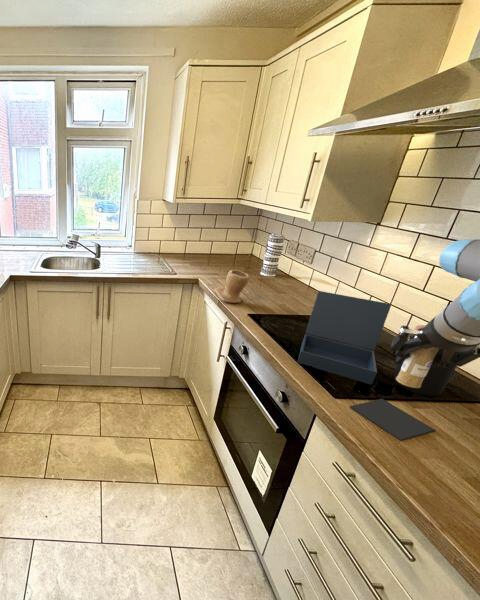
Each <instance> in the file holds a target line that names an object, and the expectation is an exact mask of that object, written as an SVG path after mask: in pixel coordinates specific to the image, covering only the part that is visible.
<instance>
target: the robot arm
mask: <svg viewBox="0 0 480 600" xmlns="http://www.w3.org/2000/svg"><path fill="white" fill-rule="evenodd" d="M438 261H439V266H440V268H441V269H442V270H443V271H444V272H446V273H449V274H451V275H454V276H457V277H458V278H461V279H466V280H469V281H472V283H470V284H469V285H468V287H466V288H464V289H463V291H462V292H461V293H460V294H459V295H458V296H456V298H455V299H454V300H453V301H451V303H450V304H448V305H447V306H446V307H445V308H443V309H442V310H441V311H440V312H438V314H435V315H436V316H434V317H433V318H432V319H430V321H428V323H426V324H425V325H426V326H425V327H423V328H419V329H418V330H414V329H413V328H410V327H409V326H408V325H401V326H400V329H399V332H398V334H397V335H396V336H395V337H393V339H392V341H391V345H390V351H392V352H395V353H394V356H396V357H395V361H394V362H395V363H394V364H395V365H396V364H397V365H398V364H400V363H402V362H403V361H404V360H405V359H407V358H408V357H409V356H410V353H411V352H414V351H417V350H420V349H429V348H432V347H434V348H435V347H437V348H441V349H444V350H443V352H442V355H441V353H438V352H437V354H436V356H435V358H434V360H433V363H432V365H431V367H430V369H429V370H431V369H432V368H434V367H435V366H439V367H445V368H447V367H448V364H449V363H452V364H453V365H454V366H457V367H458V368H460V367H463V366H466V365H467V364H470V363H472V362H473V361H475V360H477V359H480V239H478V238H477V239H474V238H473V239H472V238H462V239H458V240H455V241H453V242H451V243H449V244H447V246H445V248H444V249H443V250H442V251H441V253H440V255H439V260H438ZM413 336H417V338H414V339H412V340H409V339H411V337H413ZM455 352H459V353H457V354H456V355H455V356H453V355H454V353H455Z"/></svg>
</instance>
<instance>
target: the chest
mask: <svg viewBox="0 0 480 600" xmlns="http://www.w3.org/2000/svg"><path fill="white" fill-rule="evenodd" d="M297 364H301V365H303V364H305V365H304V366H307V365H308V366H307V367H310V366H312V367H311V368H313V367H314V368H313V369H317V370H320V371H323V372H327V373H330V374H334V375H337V376H340V377H344V378H347V379H351V380H353V381H358V382H360V383H364V384H367V385H372V386H373V383H374V381H375V378H376V375H377V374H378V368H377V363H376V356H375V350H371V349H367V348H363V347H359V346H355V345H351V344H347V343H343V342H339V341H335V340H331V339H327V338H323V337H319V336H315V335H311V334H307V333H305V334H304V337H303V339H302V343H301V346H300V350H299V354H298V358H297Z"/></svg>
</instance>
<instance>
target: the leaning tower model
mask: <svg viewBox="0 0 480 600" xmlns="http://www.w3.org/2000/svg"><path fill="white" fill-rule="evenodd" d="M268 236H269V238H268V241H267V243H266V244H265V245H266V247H265V251H264V252H265V253H264V260H263V262H262V265H261V266H262V267H261V269H260V275H262V276H265V277H276V274H277V272H278V268H279V267H278V266H279V260H280V258H281V256H282V251H283V250H284V249H283V248H284V239H285V238H286V236H285V237H284V235H283V234H281V233H272V234H270V235H268Z"/></svg>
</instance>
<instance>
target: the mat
mask: <svg viewBox="0 0 480 600" xmlns="http://www.w3.org/2000/svg"><path fill="white" fill-rule="evenodd" d="M349 408H350V409H351V410H353V411H354V412H356V413H357V414H358V415H360V416H361V417H363V418H365V419H367V420H368V421H369V422H371V423H372V424H374V425H376V426H377V427H379V428H380V429H382V430H383V431H384V432H385V433H388V434H389V435H391V436H392V437H394V438H395V439H397V440H398V441H399V442H402V441H406V440H409V439H412V438H416V437H419V436H423V435H426V434H430V433H434V432H436V429H435V428H434V427H432V426H430V425H428V424H427V423H425V422H423V421H422V420H420V419H418V418H416V417H415V416H413V415H411V414H409V413H407V412H406V411H404V410H403V409H401V408H399V407H397V406H396V405H394V404H393V403H390V402H389V401H387V400H385V399H384V398H379V399H374V400H370V401H367V402H362V403H358V404H353V405H349Z"/></svg>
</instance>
